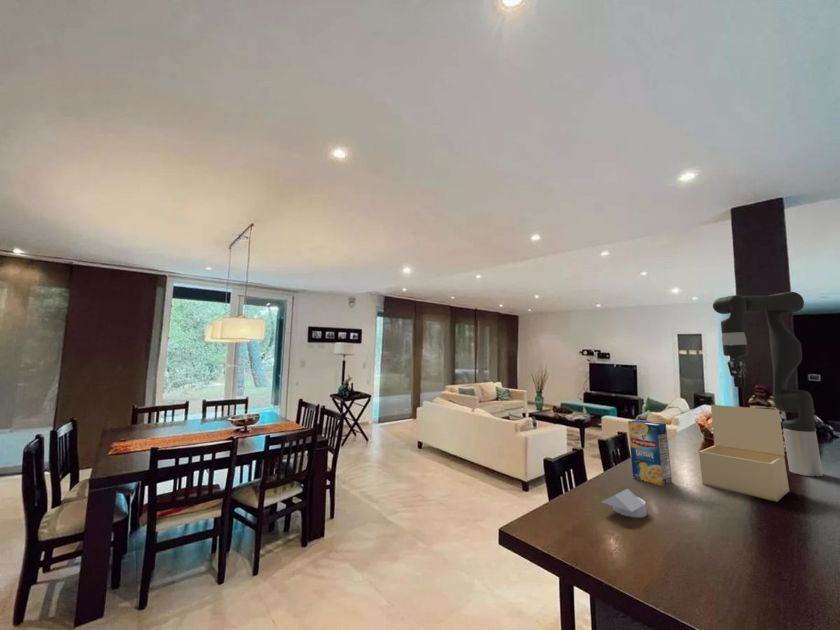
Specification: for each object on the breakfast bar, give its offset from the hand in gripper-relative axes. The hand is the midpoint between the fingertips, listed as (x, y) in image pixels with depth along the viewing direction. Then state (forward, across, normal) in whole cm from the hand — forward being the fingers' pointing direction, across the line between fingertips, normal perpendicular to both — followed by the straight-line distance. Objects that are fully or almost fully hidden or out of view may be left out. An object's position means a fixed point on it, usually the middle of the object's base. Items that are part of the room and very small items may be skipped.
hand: (740, 386), depth 141 cm
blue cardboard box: (+36, +32, -22) cm, 53 cm away
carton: (+36, +14, +1) cm, 38 cm away
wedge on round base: (+36, +70, -13) cm, 80 cm away
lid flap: (+16, +6, +1) cm, 17 cm away
